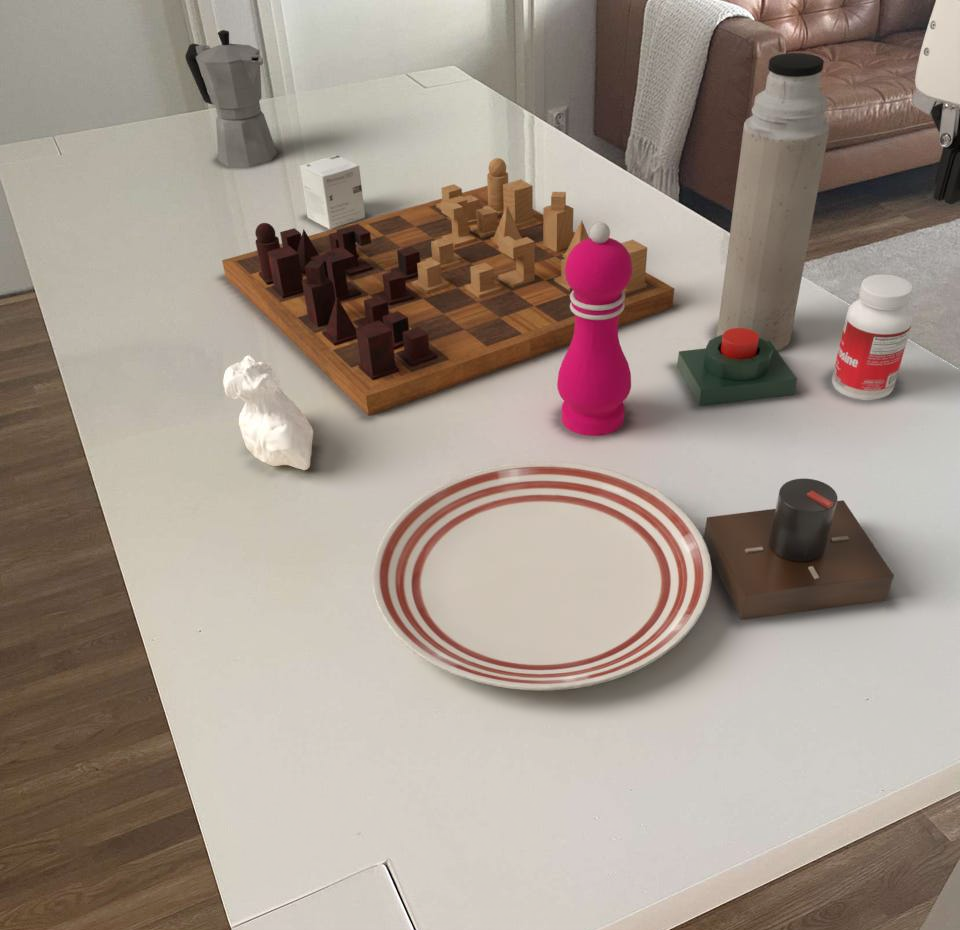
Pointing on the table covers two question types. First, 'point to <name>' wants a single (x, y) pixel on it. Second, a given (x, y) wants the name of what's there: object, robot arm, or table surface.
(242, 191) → the table surface
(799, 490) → the knob
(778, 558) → the panel
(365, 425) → the table surface
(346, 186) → the white cardboard box
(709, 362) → the housing
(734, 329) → the button
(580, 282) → the pepper mill
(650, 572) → the dinner plate
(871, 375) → the pill bottle
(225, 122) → the coffeepot
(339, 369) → the gameboard
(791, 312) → the thermos bottle
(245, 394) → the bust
